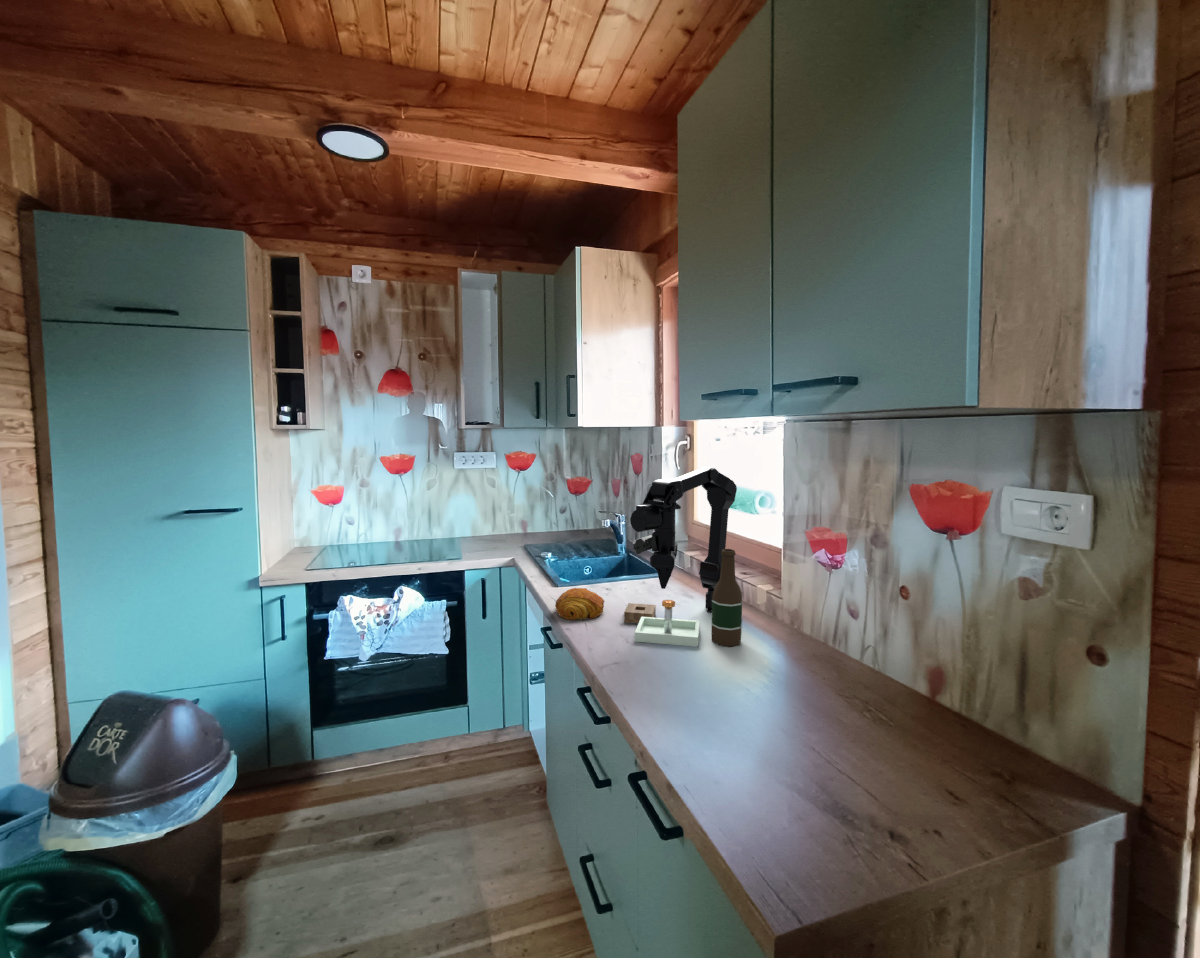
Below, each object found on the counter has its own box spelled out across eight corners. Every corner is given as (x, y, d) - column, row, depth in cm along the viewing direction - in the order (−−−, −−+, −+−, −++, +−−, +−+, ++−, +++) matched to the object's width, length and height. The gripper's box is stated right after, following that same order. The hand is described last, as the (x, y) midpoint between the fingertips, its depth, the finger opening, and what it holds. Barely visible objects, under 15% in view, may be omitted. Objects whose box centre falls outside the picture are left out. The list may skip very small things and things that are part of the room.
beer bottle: (705, 641, 138) (706, 549, 136) (720, 633, 144) (722, 545, 141) (732, 650, 133) (734, 554, 130) (747, 641, 138) (749, 549, 136)
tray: (699, 629, 146) (699, 620, 146) (697, 646, 135) (698, 637, 134) (641, 624, 150) (641, 616, 150) (634, 641, 138) (634, 632, 138)
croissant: (549, 626, 155) (547, 600, 153) (566, 602, 170) (564, 578, 168) (597, 629, 151) (596, 603, 150) (610, 604, 166) (609, 580, 164)
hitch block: (655, 614, 158) (655, 604, 158) (652, 624, 150) (652, 614, 150) (628, 612, 160) (628, 603, 159) (624, 622, 152) (624, 611, 152)
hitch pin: (674, 631, 144) (675, 600, 143) (673, 635, 140) (674, 604, 139) (662, 630, 144) (662, 599, 143) (660, 634, 141) (661, 603, 140)
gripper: (638, 520, 155) (639, 573, 156) (630, 532, 137) (630, 592, 138) (677, 521, 153) (677, 574, 154) (674, 534, 134) (674, 594, 136)
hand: (664, 583), depth 146 cm, fingers open, 9 cm apart
